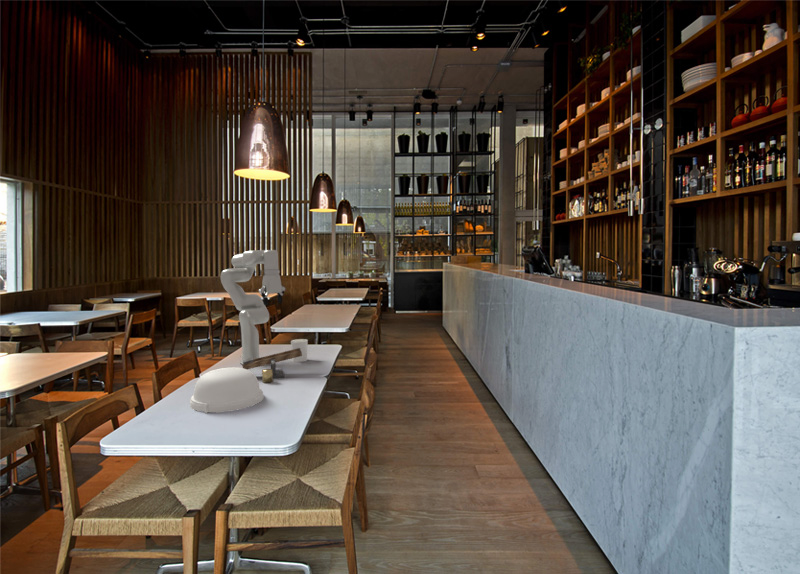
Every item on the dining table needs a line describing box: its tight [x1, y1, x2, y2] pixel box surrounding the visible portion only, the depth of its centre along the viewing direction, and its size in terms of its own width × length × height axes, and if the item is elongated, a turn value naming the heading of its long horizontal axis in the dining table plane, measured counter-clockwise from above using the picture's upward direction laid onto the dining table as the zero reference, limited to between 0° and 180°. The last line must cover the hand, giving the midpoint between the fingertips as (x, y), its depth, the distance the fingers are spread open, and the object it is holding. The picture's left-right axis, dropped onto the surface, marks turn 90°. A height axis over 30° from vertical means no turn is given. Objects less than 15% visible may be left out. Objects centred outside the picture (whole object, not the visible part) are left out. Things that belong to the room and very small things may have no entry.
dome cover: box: [189, 366, 264, 414], centre depth 209 cm, size 32×30×14 cm
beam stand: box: [270, 359, 285, 380], centre depth 253 cm, size 10×15×9 cm, turn 16°
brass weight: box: [261, 368, 274, 384], centre depth 240 cm, size 5×5×6 cm
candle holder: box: [290, 338, 309, 363], centre depth 286 cm, size 10×10×12 cm
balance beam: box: [241, 348, 302, 370], centre depth 253 cm, size 30×8×4 cm, turn 106°
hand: (273, 304), depth 265 cm, fingers open, 9 cm apart
